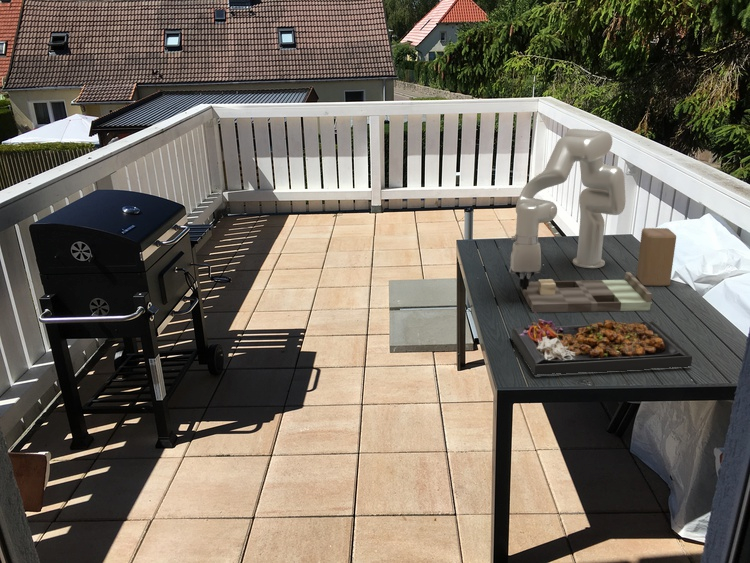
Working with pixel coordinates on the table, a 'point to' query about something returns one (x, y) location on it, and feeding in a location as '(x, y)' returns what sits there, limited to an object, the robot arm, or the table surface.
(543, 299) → the board
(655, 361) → the food platter
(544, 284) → the birch block
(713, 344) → the table surface
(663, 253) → the block
